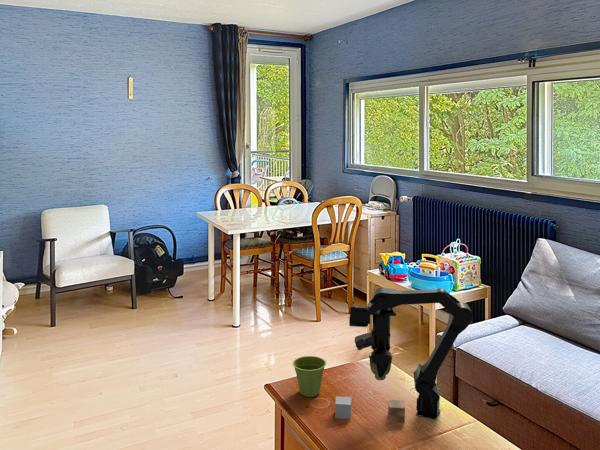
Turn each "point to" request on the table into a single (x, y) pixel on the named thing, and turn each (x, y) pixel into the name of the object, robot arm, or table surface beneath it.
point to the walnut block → (396, 411)
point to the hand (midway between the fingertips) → (380, 372)
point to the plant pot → (309, 374)
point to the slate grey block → (343, 407)
